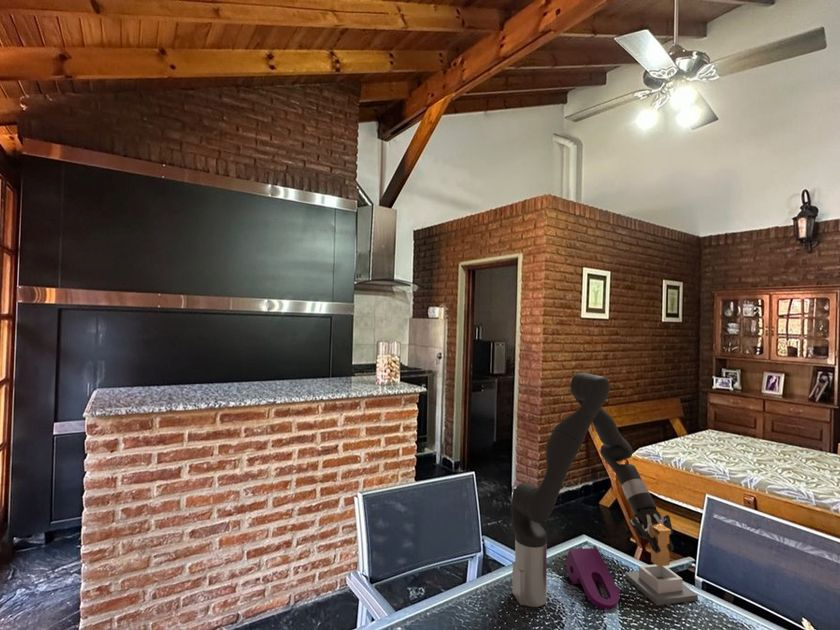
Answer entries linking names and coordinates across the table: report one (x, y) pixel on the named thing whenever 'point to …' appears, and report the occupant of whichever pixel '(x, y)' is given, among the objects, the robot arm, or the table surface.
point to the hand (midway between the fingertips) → (664, 551)
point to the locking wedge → (661, 545)
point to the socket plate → (661, 585)
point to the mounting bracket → (592, 576)
